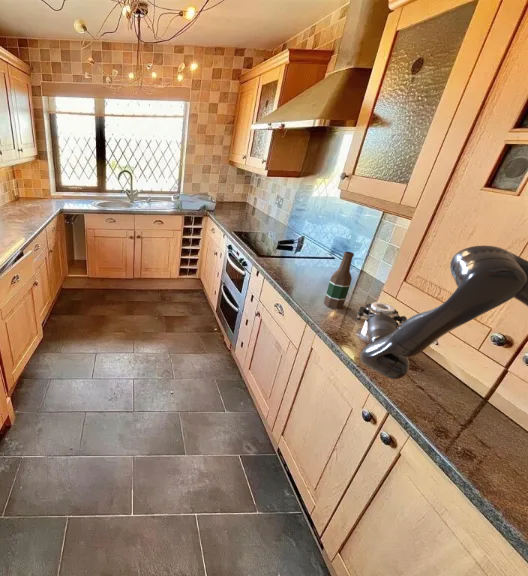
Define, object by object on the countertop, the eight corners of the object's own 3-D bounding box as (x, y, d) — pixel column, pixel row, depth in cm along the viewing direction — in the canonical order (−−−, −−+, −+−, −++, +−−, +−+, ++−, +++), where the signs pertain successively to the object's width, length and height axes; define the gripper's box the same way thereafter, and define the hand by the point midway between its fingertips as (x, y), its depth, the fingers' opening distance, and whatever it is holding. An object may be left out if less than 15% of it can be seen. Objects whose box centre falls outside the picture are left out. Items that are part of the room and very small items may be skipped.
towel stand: (383, 333, 113) (395, 305, 108) (390, 348, 106) (403, 318, 100) (353, 328, 117) (363, 300, 111) (357, 342, 109) (368, 313, 104)
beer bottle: (336, 311, 128) (353, 257, 117) (319, 303, 134) (333, 251, 123) (347, 306, 131) (364, 253, 121) (330, 298, 138) (345, 248, 127)
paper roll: (380, 332, 112) (392, 304, 107) (384, 342, 107) (397, 312, 102) (359, 328, 114) (370, 300, 109) (363, 338, 109) (374, 309, 104)
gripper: (416, 328, 90) (410, 304, 103) (358, 314, 97) (360, 294, 110) (406, 349, 94) (402, 323, 106) (351, 334, 101) (353, 312, 113)
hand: (381, 308), depth 108 cm, fingers closed on paper roll, 6 cm apart
